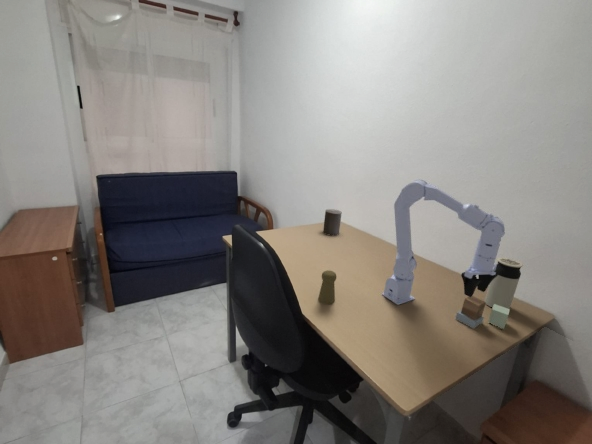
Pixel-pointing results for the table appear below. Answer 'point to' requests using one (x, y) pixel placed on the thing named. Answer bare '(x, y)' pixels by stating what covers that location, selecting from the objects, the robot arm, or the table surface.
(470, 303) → the walnut block
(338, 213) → the pillar candle
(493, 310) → the sage block
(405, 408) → the table surface
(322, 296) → the olive pawn
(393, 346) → the table surface
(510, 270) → the travel mug
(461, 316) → the slate slab
